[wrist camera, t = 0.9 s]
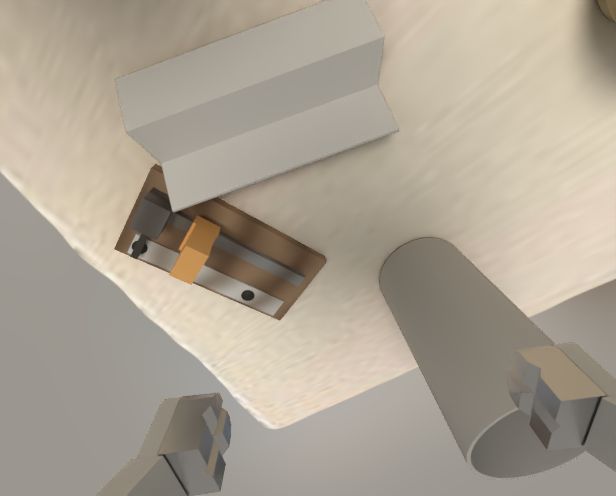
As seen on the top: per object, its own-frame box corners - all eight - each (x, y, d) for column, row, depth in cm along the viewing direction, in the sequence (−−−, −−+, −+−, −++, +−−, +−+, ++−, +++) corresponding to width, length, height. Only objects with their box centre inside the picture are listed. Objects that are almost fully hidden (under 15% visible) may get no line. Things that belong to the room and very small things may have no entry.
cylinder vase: (364, 262, 46) (448, 434, 24) (445, 219, 44) (615, 367, 22) (396, 316, 52) (486, 494, 30) (468, 281, 50) (620, 445, 28)
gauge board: (119, 243, 41) (101, 264, 36) (155, 164, 36) (140, 177, 32) (279, 313, 49) (280, 337, 45) (324, 256, 45) (330, 276, 41)
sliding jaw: (167, 268, 41) (147, 307, 34) (198, 213, 38) (182, 244, 31) (189, 278, 42) (174, 317, 35) (221, 225, 39) (211, 257, 32)
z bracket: (152, 119, 37) (114, 79, 31) (356, 44, 36) (359, -13, 30) (174, 212, 34) (137, 187, 28) (398, 131, 33) (410, 87, 27)
